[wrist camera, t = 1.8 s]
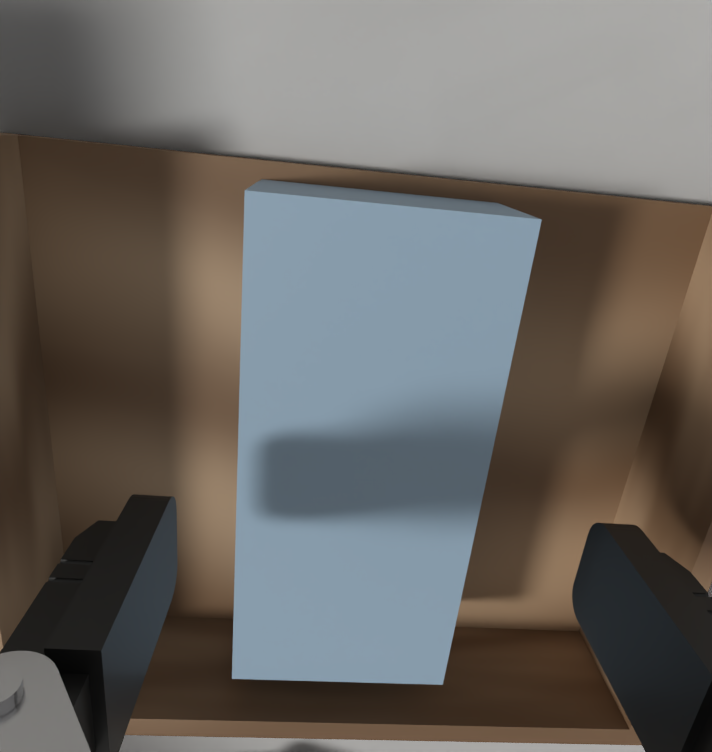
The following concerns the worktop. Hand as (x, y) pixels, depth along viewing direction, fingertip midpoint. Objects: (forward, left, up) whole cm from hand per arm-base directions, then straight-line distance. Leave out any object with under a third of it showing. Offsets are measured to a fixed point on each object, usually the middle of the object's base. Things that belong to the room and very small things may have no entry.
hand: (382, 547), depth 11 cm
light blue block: (0, 0, -5) cm, 5 cm away
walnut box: (0, 0, -6) cm, 6 cm away
